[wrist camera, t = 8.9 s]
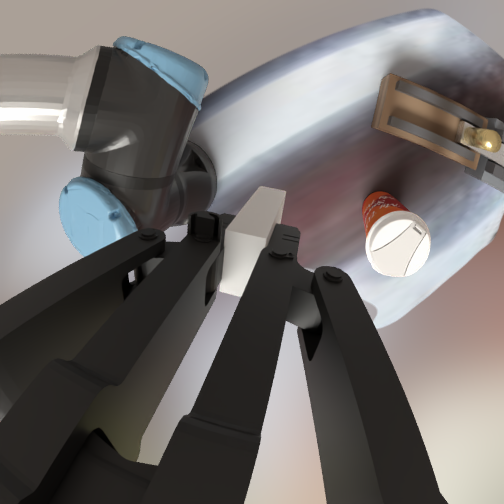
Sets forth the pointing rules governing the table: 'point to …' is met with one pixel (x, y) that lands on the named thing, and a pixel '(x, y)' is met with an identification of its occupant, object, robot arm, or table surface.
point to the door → (425, 118)
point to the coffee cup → (394, 236)
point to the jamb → (490, 162)
